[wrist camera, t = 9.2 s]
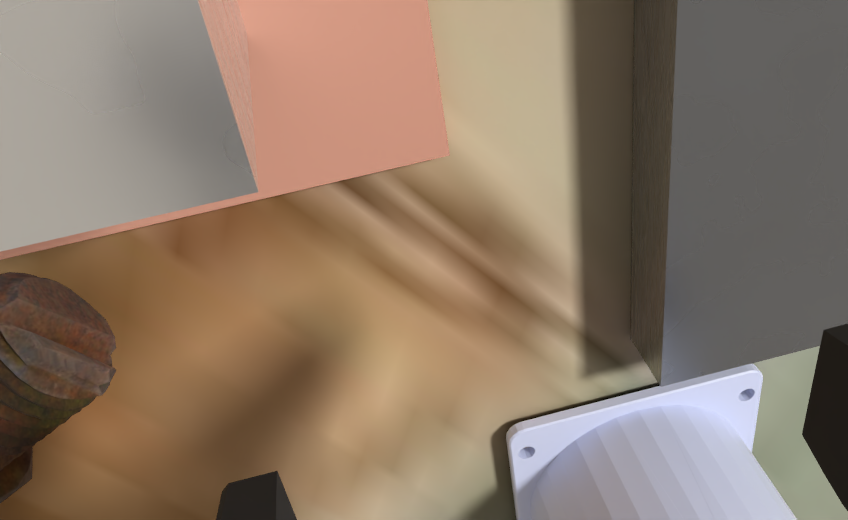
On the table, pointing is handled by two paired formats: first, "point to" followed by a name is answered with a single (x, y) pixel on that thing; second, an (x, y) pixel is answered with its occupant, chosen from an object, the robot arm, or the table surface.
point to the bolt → (45, 366)
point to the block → (737, 181)
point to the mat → (328, 97)
